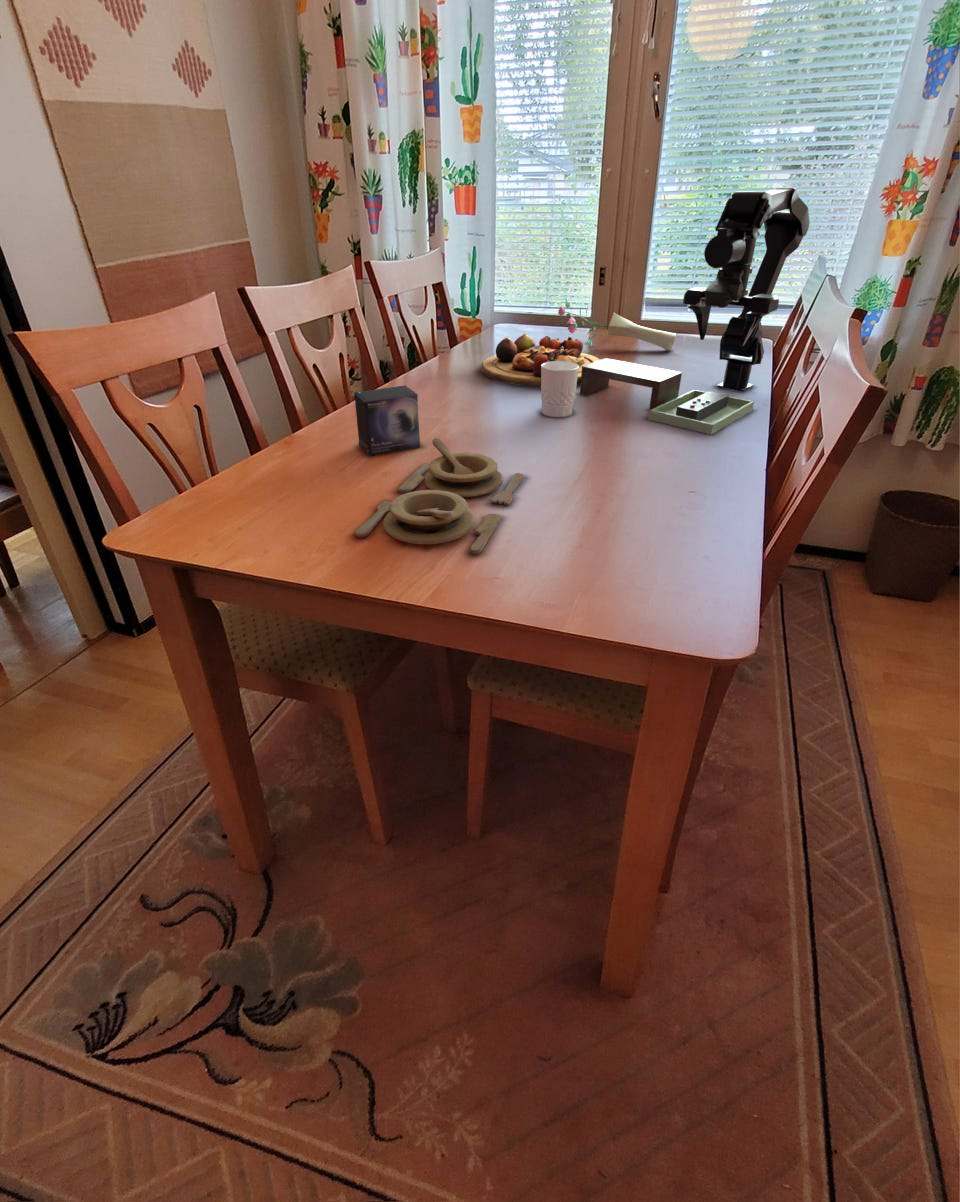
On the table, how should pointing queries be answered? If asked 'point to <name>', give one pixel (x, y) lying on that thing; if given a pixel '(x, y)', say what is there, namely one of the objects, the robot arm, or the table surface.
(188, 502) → the table surface
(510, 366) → the wooden plate
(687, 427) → the tray
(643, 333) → the flower vase
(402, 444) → the small box
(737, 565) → the table surface
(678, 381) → the shelf
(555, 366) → the white cup
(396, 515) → the tableware set
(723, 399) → the dark gray box
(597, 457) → the table surface
